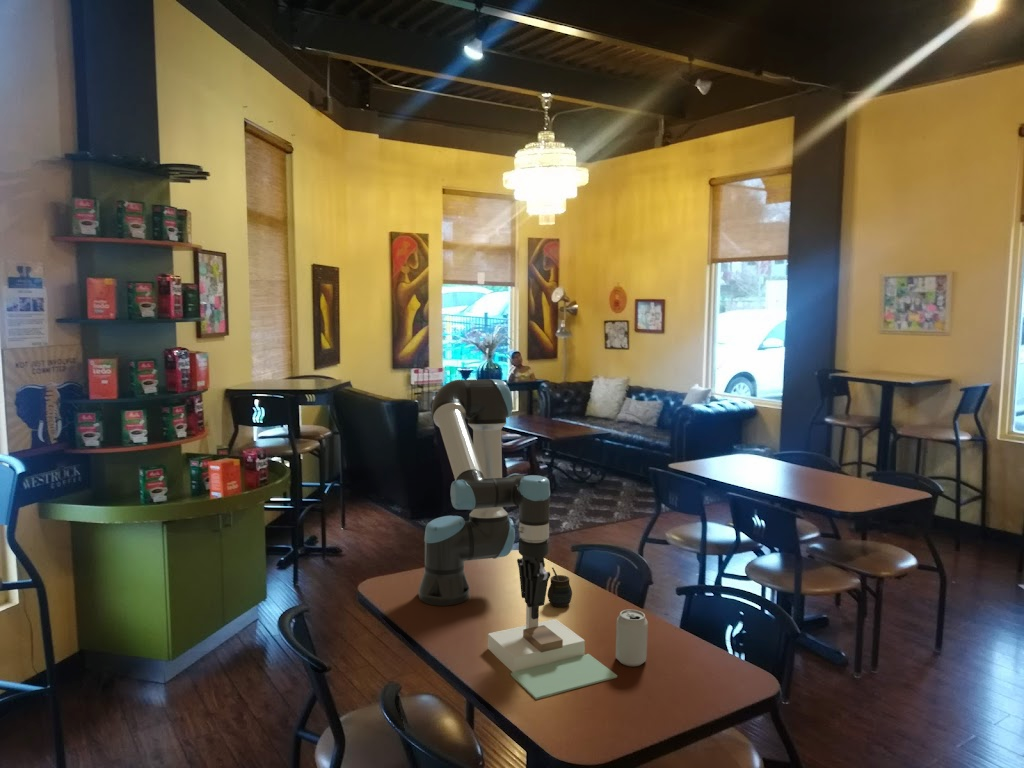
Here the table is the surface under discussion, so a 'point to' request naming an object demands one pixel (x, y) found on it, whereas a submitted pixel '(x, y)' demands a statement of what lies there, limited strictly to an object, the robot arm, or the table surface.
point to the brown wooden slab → (542, 638)
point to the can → (631, 637)
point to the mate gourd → (559, 590)
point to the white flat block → (525, 655)
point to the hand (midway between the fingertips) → (532, 629)
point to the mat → (562, 676)
